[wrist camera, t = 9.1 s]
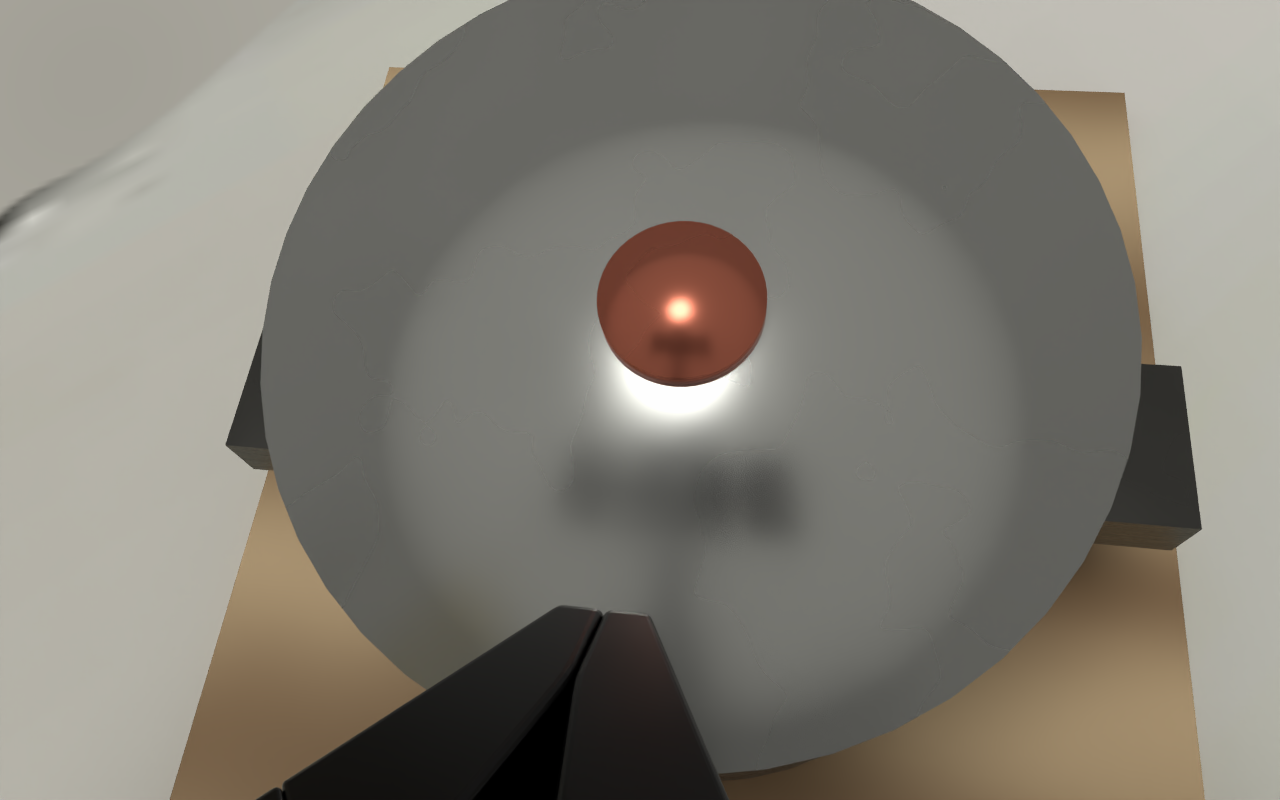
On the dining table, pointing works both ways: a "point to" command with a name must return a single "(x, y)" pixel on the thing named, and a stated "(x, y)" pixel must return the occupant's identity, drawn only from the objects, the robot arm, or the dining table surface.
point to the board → (830, 785)
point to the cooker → (1140, 517)
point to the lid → (707, 354)
